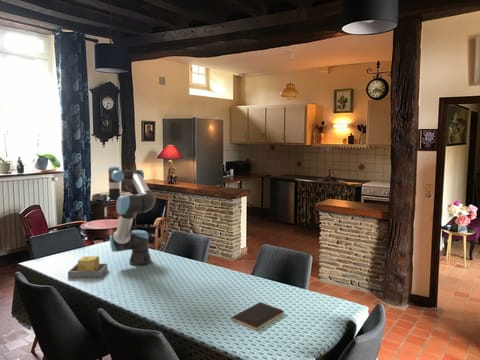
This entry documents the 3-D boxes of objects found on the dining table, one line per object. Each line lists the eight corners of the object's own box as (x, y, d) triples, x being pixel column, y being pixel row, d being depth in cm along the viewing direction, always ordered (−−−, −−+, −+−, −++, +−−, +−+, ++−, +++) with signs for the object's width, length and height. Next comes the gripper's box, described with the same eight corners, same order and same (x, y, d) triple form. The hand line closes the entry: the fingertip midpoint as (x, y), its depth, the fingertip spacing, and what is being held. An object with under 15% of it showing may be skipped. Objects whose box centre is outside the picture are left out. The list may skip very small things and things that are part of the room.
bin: (107, 270, 253) (107, 263, 252) (100, 278, 238) (100, 271, 237) (77, 270, 252) (76, 263, 251) (68, 278, 237) (67, 271, 236)
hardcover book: (283, 314, 192) (284, 310, 192) (256, 331, 175) (256, 327, 174) (259, 305, 202) (259, 301, 202) (231, 321, 185) (231, 316, 185)
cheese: (93, 276, 239) (93, 260, 238) (76, 275, 239) (76, 260, 238) (99, 270, 250) (99, 255, 249) (83, 270, 250) (83, 255, 249)
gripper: (132, 187, 277) (133, 215, 279) (98, 187, 275) (99, 215, 278) (130, 188, 269) (131, 217, 272) (95, 188, 268) (96, 217, 270)
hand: (115, 216), depth 275 cm, fingers open, 13 cm apart
